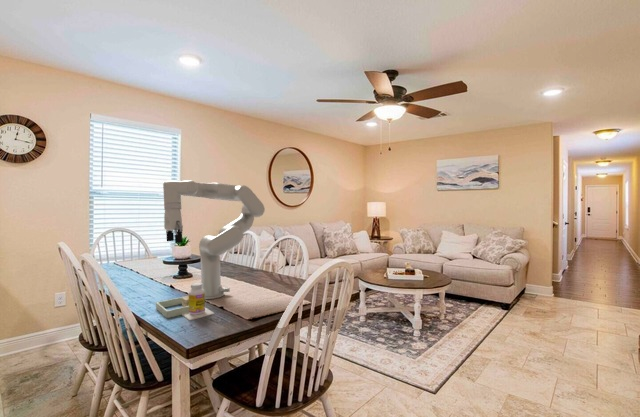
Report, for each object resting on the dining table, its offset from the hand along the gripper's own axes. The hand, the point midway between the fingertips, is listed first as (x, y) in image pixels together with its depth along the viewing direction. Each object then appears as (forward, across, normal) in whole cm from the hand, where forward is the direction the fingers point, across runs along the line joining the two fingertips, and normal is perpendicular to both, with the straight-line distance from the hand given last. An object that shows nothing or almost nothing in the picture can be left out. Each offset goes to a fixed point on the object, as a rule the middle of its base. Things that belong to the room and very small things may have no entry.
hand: (174, 241), depth 163 cm
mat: (+30, +22, -1) cm, 37 cm away
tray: (+30, +10, -3) cm, 32 cm away
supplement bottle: (+30, +22, -1) cm, 37 cm away
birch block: (+30, +10, +1) cm, 32 cm away
